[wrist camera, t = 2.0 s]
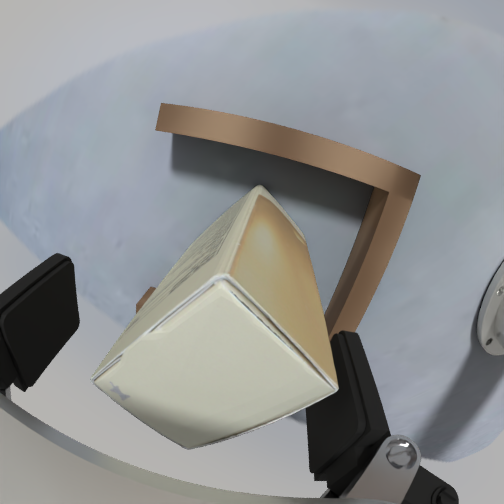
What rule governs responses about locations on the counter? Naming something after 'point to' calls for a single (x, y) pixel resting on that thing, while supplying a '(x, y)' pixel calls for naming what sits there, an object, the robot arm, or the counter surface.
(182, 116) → the open wooden u frame
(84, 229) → the counter surface
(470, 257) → the counter surface
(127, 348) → the skincare box
